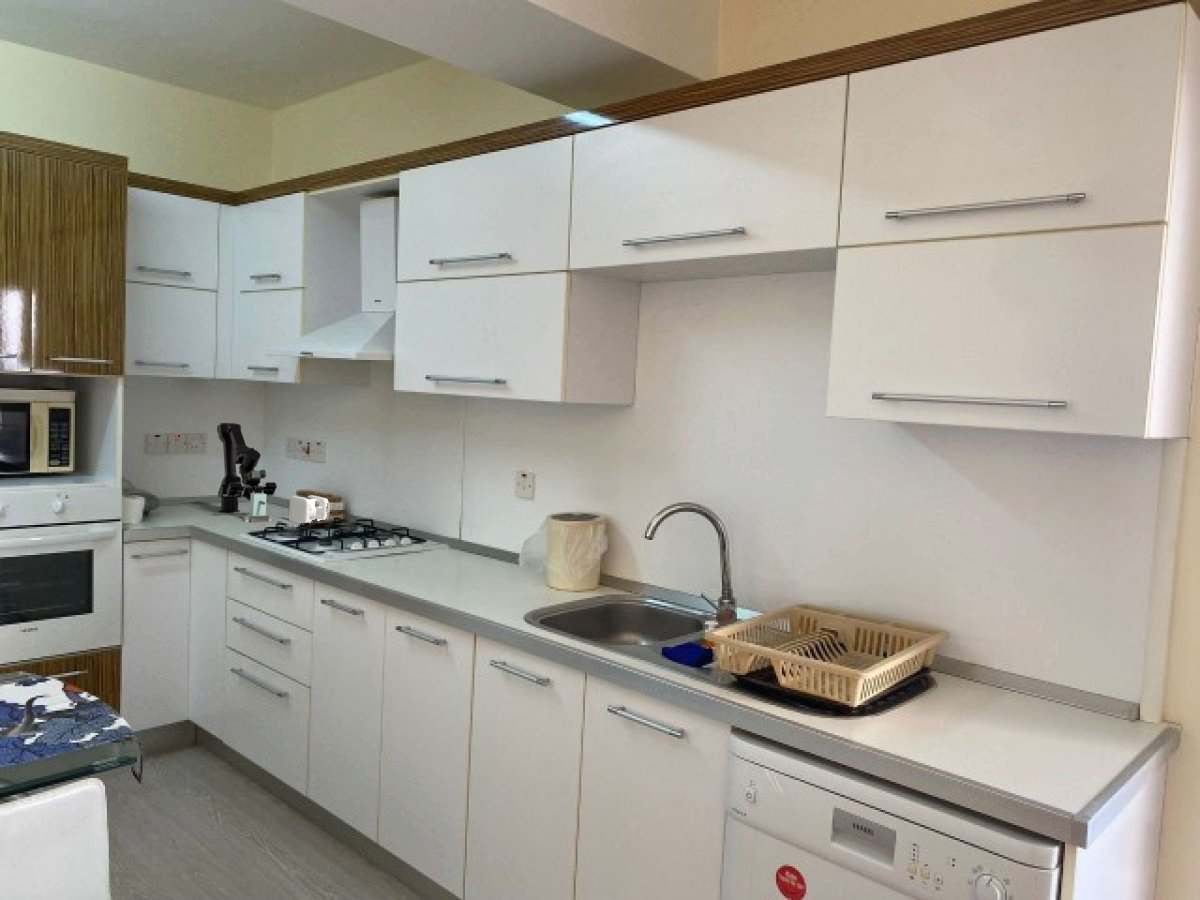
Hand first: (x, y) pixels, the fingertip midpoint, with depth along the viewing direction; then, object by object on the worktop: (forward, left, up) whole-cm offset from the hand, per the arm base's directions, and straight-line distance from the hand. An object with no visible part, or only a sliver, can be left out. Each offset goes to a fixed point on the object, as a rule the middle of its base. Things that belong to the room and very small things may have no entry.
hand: (256, 505), depth 359 cm
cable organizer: (+18, +10, -8) cm, 22 cm away
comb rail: (-2, +1, -7) cm, 8 cm away
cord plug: (+5, -3, -6) cm, 8 cm away
